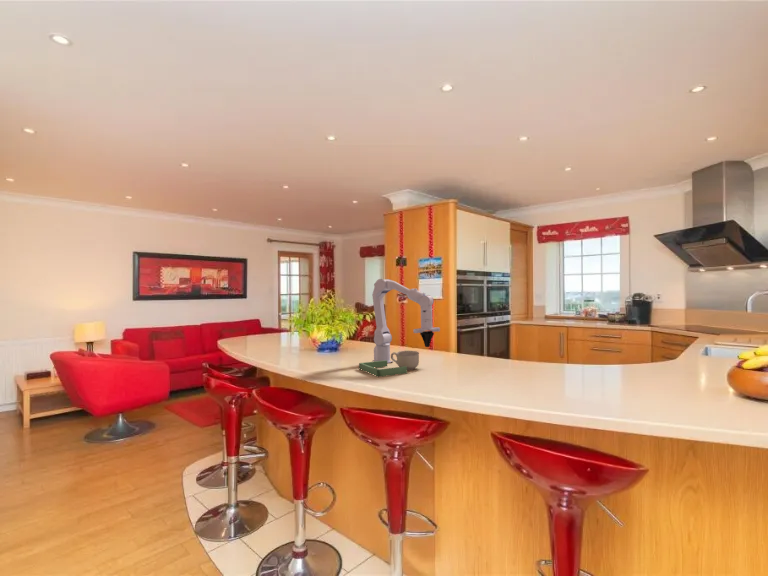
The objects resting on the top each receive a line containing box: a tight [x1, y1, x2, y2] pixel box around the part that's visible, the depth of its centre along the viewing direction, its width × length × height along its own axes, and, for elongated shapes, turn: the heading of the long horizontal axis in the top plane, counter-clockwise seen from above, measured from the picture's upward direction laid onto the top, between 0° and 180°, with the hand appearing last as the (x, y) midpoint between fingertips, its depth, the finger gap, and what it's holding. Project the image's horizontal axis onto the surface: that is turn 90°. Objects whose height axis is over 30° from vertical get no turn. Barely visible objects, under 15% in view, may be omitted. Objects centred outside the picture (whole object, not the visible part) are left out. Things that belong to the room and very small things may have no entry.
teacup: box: [390, 350, 420, 371], centre depth 185 cm, size 14×11×8 cm
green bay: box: [358, 360, 408, 377], centre depth 179 cm, size 20×15×3 cm
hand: (427, 346), depth 191 cm, fingers closed
